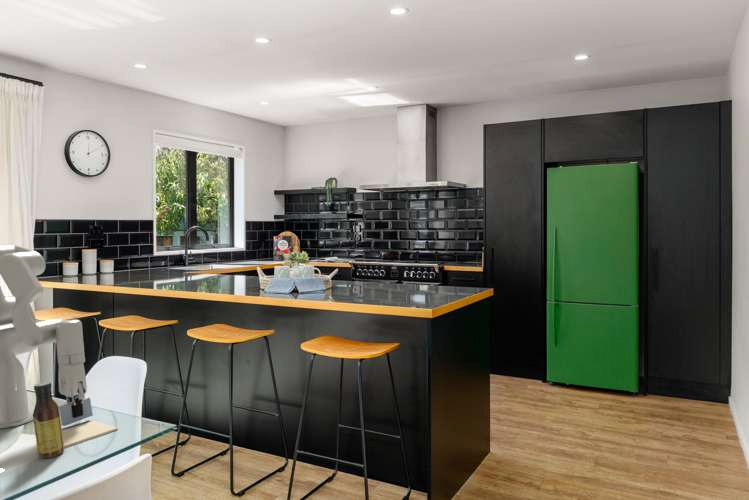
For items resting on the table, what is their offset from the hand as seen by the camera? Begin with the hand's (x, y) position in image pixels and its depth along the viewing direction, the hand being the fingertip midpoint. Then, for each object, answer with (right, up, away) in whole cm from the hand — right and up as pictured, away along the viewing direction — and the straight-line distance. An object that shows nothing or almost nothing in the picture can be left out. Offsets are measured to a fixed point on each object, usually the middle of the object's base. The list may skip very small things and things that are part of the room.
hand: (75, 415), depth 181 cm
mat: (+7, -3, -11) cm, 13 cm away
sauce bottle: (+8, -3, -27) cm, 28 cm away
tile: (0, -2, 0) cm, 2 cm away
